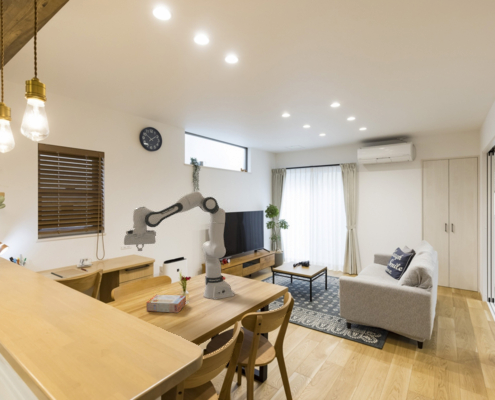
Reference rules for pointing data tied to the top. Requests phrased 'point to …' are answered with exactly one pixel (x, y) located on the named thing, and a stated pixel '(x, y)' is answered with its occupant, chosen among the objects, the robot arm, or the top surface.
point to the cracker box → (166, 303)
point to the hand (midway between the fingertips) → (140, 250)
